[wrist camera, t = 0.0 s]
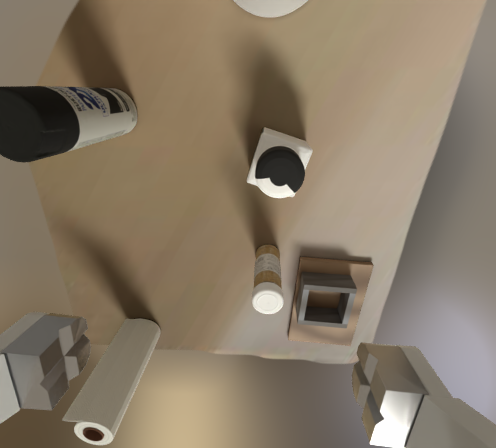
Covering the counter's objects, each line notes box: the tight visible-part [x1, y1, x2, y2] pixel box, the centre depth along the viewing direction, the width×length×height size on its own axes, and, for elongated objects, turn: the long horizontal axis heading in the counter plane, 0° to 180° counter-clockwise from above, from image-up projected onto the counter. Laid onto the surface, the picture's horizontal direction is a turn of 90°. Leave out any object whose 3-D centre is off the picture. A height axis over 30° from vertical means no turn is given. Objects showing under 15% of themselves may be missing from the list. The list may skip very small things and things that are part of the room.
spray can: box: [0, 86, 137, 162], centre depth 34 cm, size 7×7×20 cm
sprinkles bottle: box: [252, 245, 284, 314], centre depth 46 cm, size 5×5×13 cm
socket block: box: [288, 257, 374, 346], centre depth 53 cm, size 20×13×5 cm, turn 177°
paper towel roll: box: [62, 318, 161, 445], centre depth 52 cm, size 7×6×21 cm
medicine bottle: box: [247, 127, 313, 198], centre depth 39 cm, size 7×7×12 cm
